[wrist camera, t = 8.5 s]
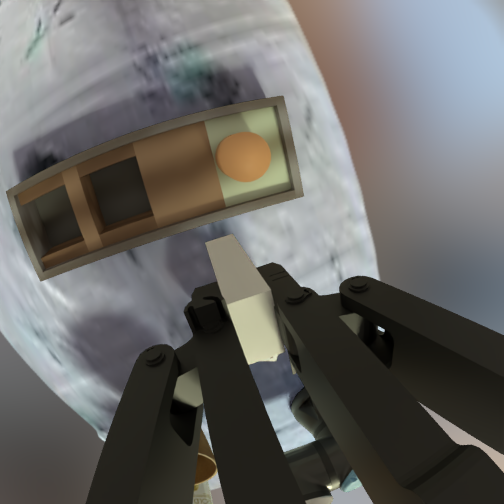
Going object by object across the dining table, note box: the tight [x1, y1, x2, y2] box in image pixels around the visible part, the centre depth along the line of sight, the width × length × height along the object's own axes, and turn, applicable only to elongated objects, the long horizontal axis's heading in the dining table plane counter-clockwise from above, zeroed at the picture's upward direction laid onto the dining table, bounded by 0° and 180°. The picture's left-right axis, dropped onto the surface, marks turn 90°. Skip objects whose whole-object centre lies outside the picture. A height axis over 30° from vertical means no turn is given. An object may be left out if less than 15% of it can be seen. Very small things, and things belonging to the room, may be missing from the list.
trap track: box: [6, 96, 304, 281], centre depth 30 cm, size 12×34×6 cm, turn 104°
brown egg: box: [215, 132, 271, 182], centre depth 28 cm, size 5×5×4 cm
